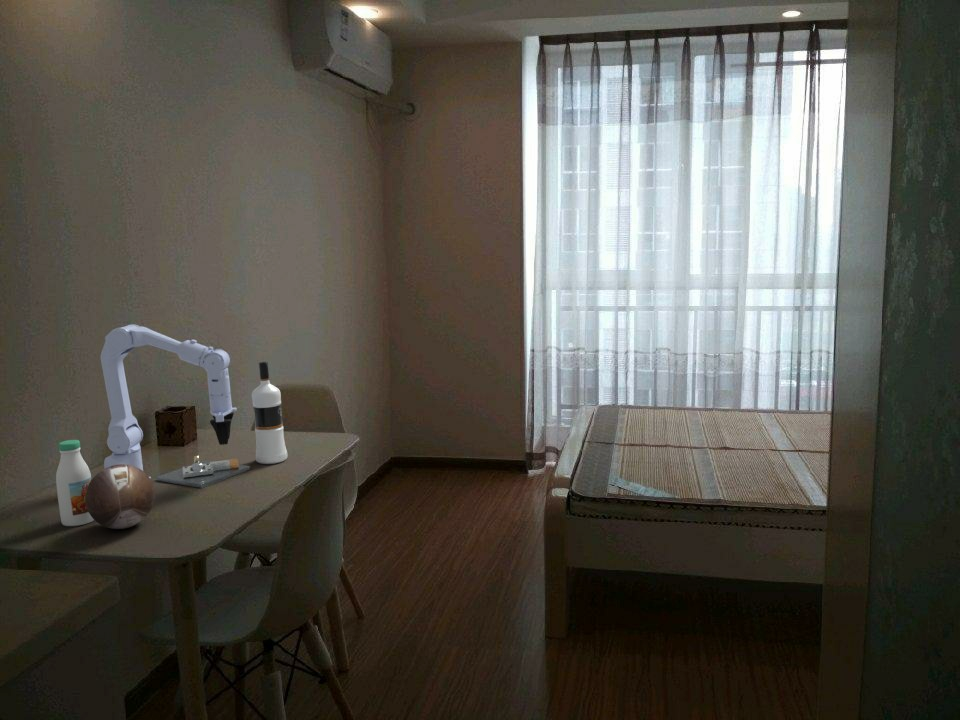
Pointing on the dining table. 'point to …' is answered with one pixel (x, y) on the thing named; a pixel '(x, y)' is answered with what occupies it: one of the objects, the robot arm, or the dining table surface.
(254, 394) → the vodka
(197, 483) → the base plate
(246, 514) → the dining table surface
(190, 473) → the silver flat metal piece
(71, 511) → the milk bottle
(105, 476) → the shiny brown metallic sphere
